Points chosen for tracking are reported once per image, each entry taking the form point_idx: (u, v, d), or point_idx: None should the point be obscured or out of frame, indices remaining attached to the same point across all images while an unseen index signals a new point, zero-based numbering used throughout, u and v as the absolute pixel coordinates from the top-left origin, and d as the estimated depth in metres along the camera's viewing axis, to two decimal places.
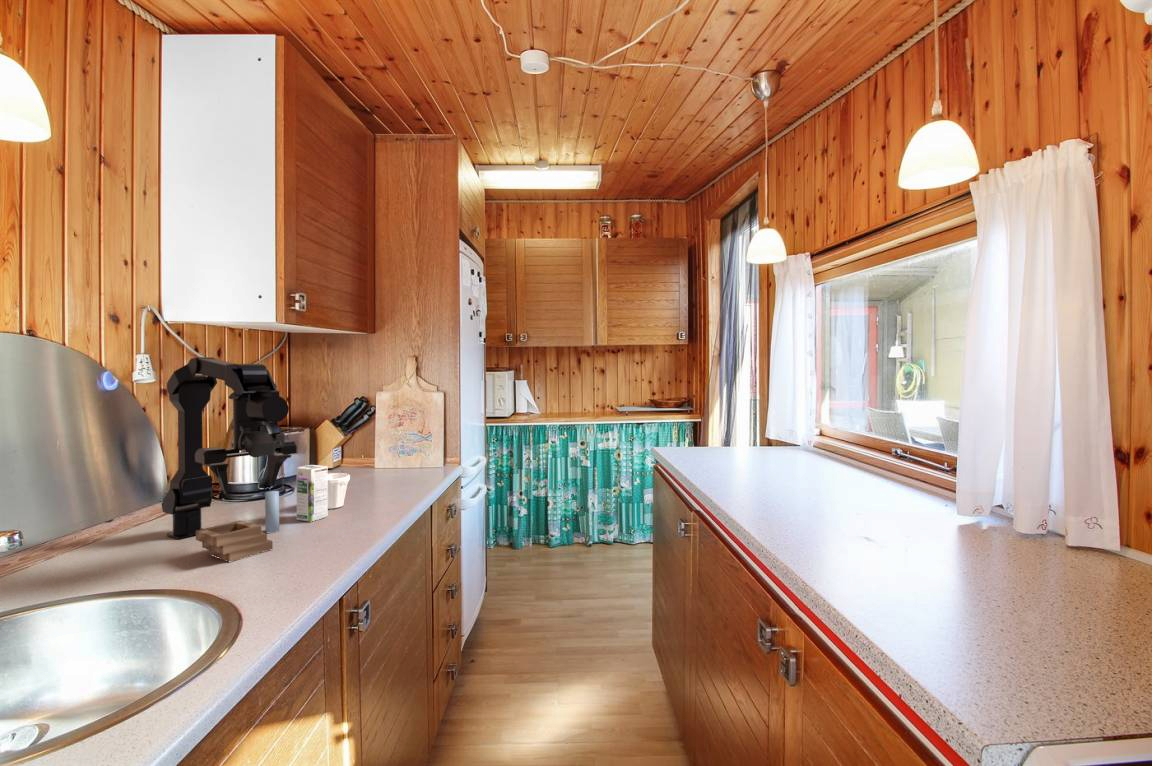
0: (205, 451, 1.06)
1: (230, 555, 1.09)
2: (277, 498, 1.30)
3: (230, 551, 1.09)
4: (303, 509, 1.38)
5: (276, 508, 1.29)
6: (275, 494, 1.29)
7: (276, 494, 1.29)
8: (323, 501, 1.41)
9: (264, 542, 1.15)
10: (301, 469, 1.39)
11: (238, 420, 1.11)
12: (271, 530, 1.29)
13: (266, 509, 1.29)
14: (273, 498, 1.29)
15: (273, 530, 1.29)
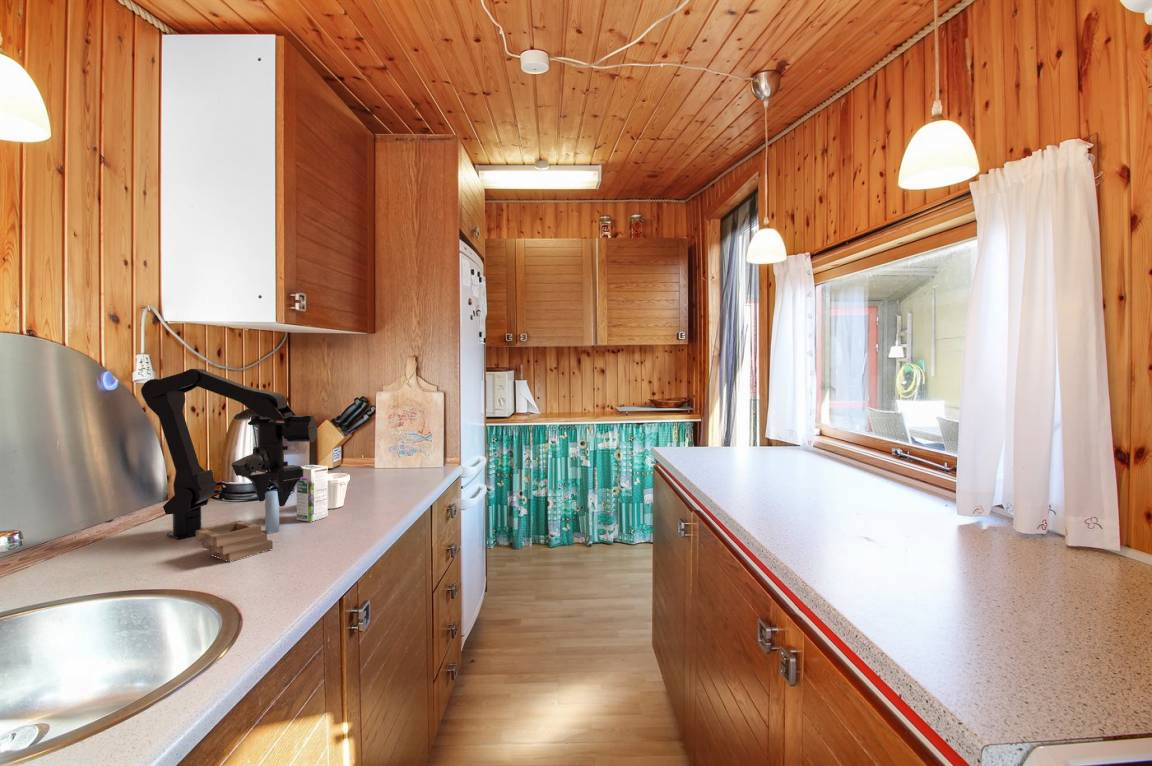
0: None
1: (230, 555, 1.09)
2: (277, 498, 1.30)
3: (230, 551, 1.09)
4: (303, 509, 1.38)
5: (276, 508, 1.29)
6: (275, 494, 1.29)
7: (276, 494, 1.29)
8: (323, 501, 1.41)
9: (264, 542, 1.15)
10: None
11: None
12: (271, 530, 1.29)
13: (266, 509, 1.29)
14: (273, 498, 1.29)
15: (273, 530, 1.29)
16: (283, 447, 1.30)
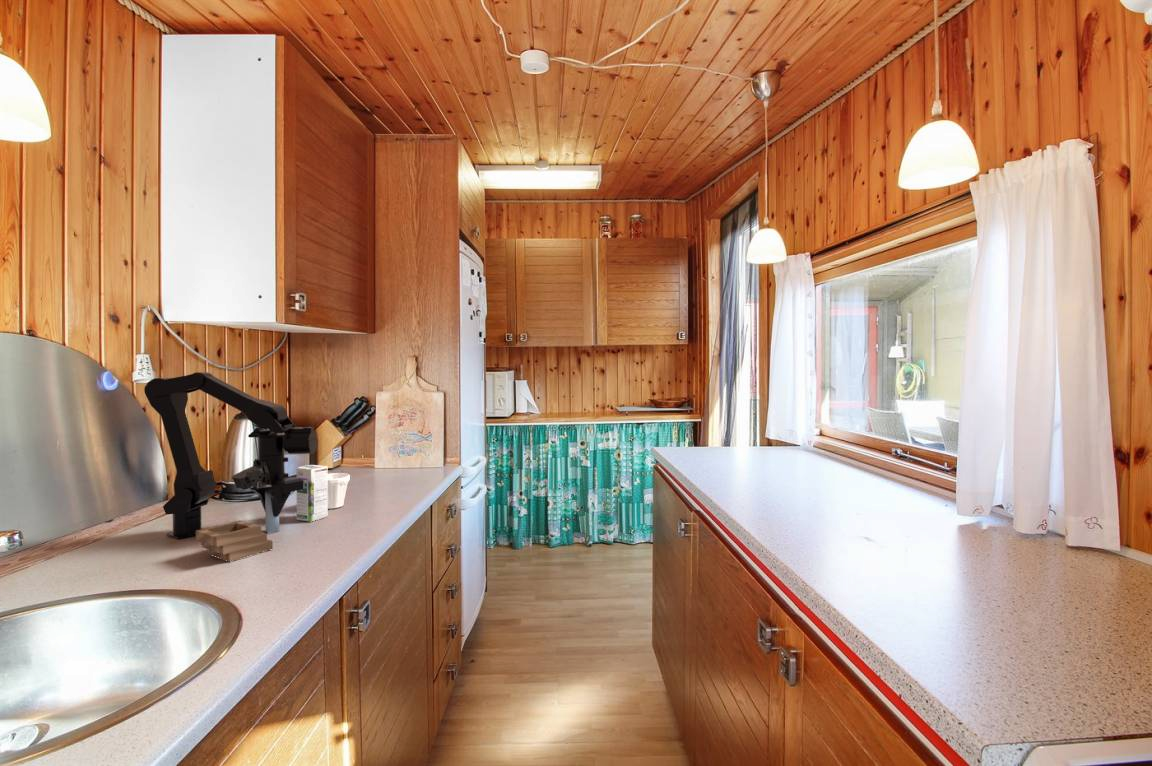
0: None
1: (230, 555, 1.09)
2: None
3: (230, 551, 1.09)
4: (303, 509, 1.38)
5: None
6: None
7: None
8: (323, 501, 1.41)
9: (264, 542, 1.15)
10: (301, 469, 1.39)
11: None
12: (271, 530, 1.29)
13: (266, 509, 1.29)
14: None
15: (273, 530, 1.29)
16: (283, 459, 1.30)
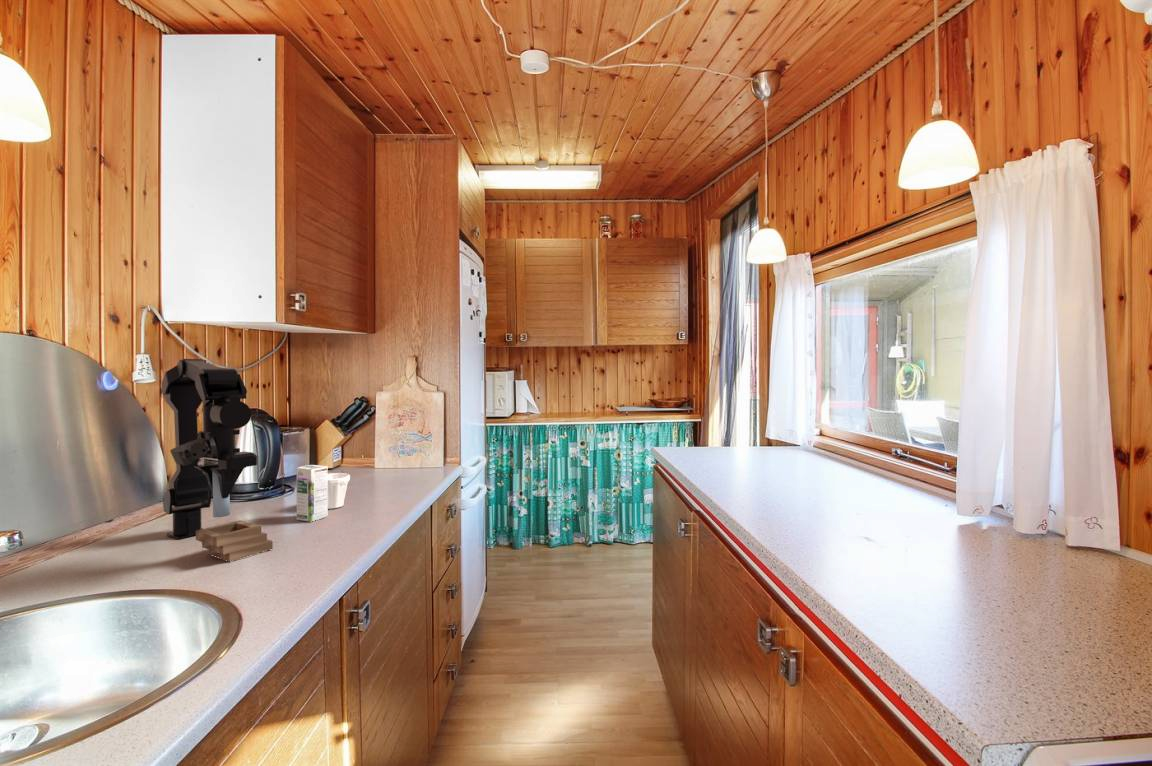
0: None
1: (230, 555, 1.09)
2: None
3: (230, 551, 1.09)
4: (303, 509, 1.38)
5: None
6: None
7: None
8: (323, 501, 1.41)
9: (264, 542, 1.15)
10: (301, 469, 1.39)
11: None
12: (219, 514, 1.10)
13: (213, 489, 1.10)
14: None
15: (222, 514, 1.11)
16: (234, 431, 1.12)
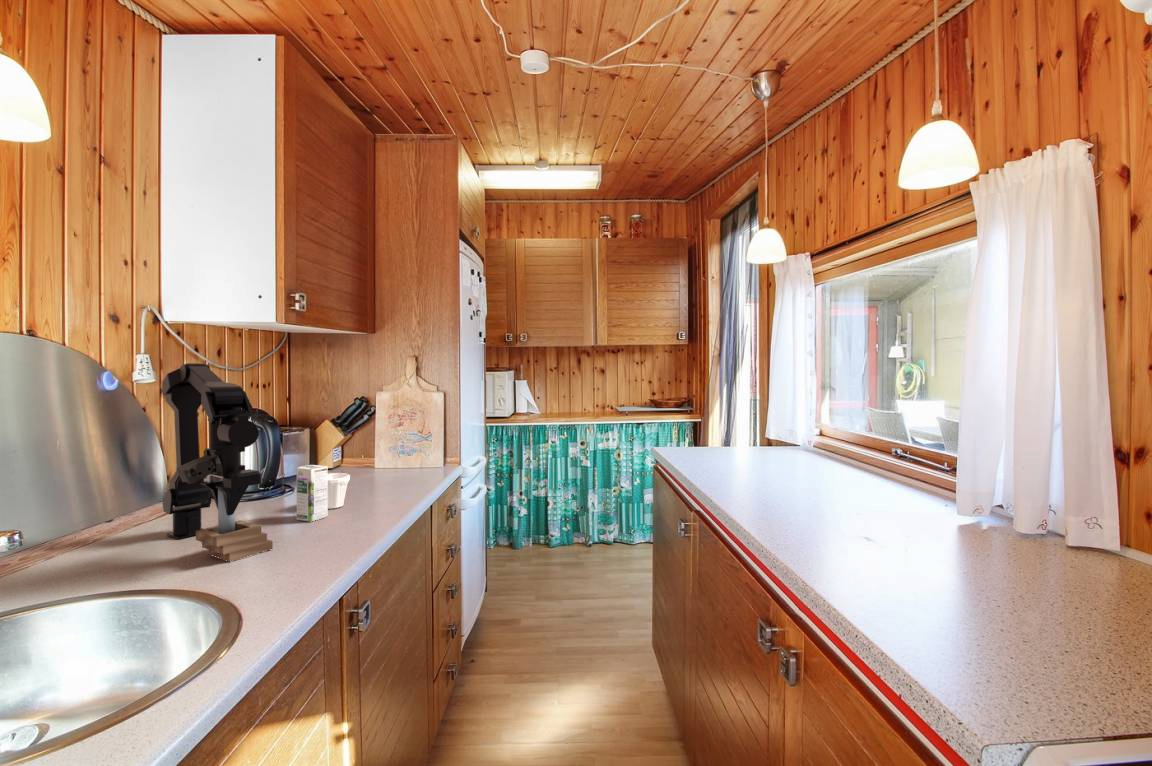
0: None
1: (230, 555, 1.09)
2: None
3: (230, 551, 1.09)
4: (303, 509, 1.38)
5: None
6: None
7: None
8: (323, 501, 1.41)
9: (264, 542, 1.15)
10: (301, 469, 1.39)
11: None
12: (225, 530, 1.11)
13: (219, 506, 1.11)
14: None
15: (227, 530, 1.11)
16: (239, 449, 1.12)
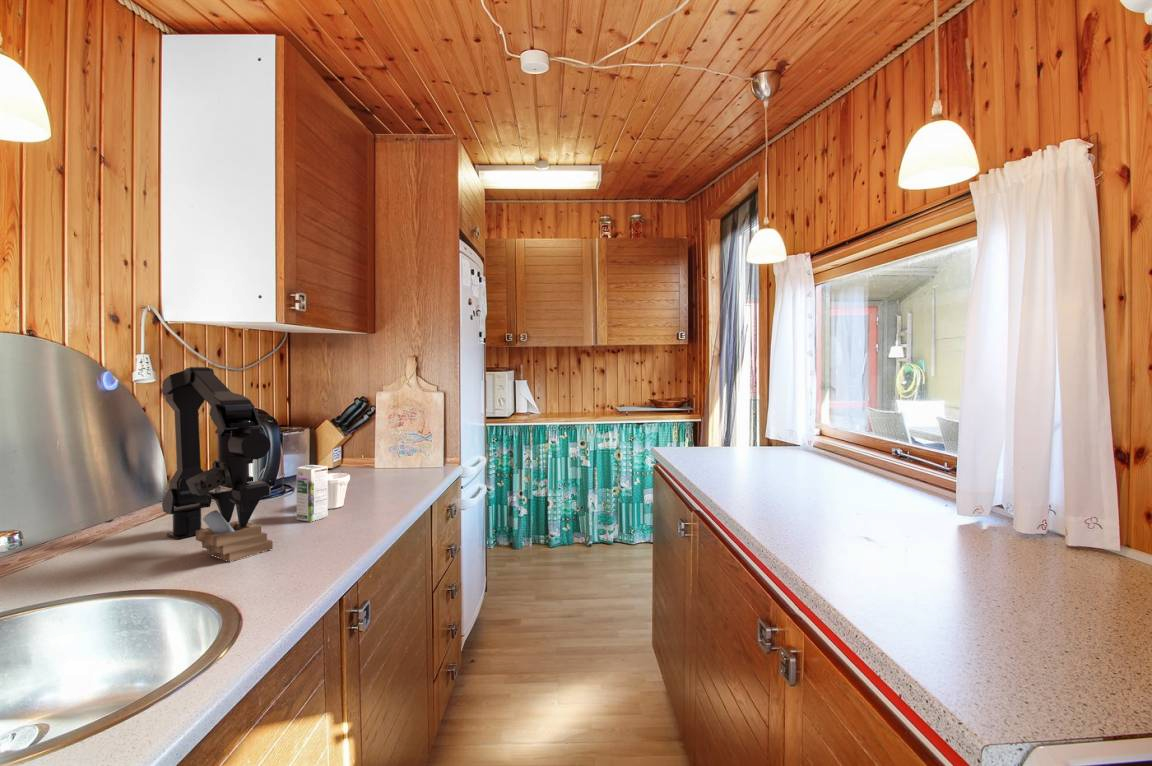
0: None
1: (230, 555, 1.09)
2: (220, 519, 1.10)
3: (230, 551, 1.09)
4: (303, 509, 1.38)
5: (225, 529, 1.11)
6: (215, 517, 1.09)
7: (216, 517, 1.09)
8: (323, 501, 1.41)
9: (264, 542, 1.15)
10: (301, 469, 1.39)
11: None
12: None
13: None
14: (215, 522, 1.09)
15: None
16: (248, 460, 1.14)
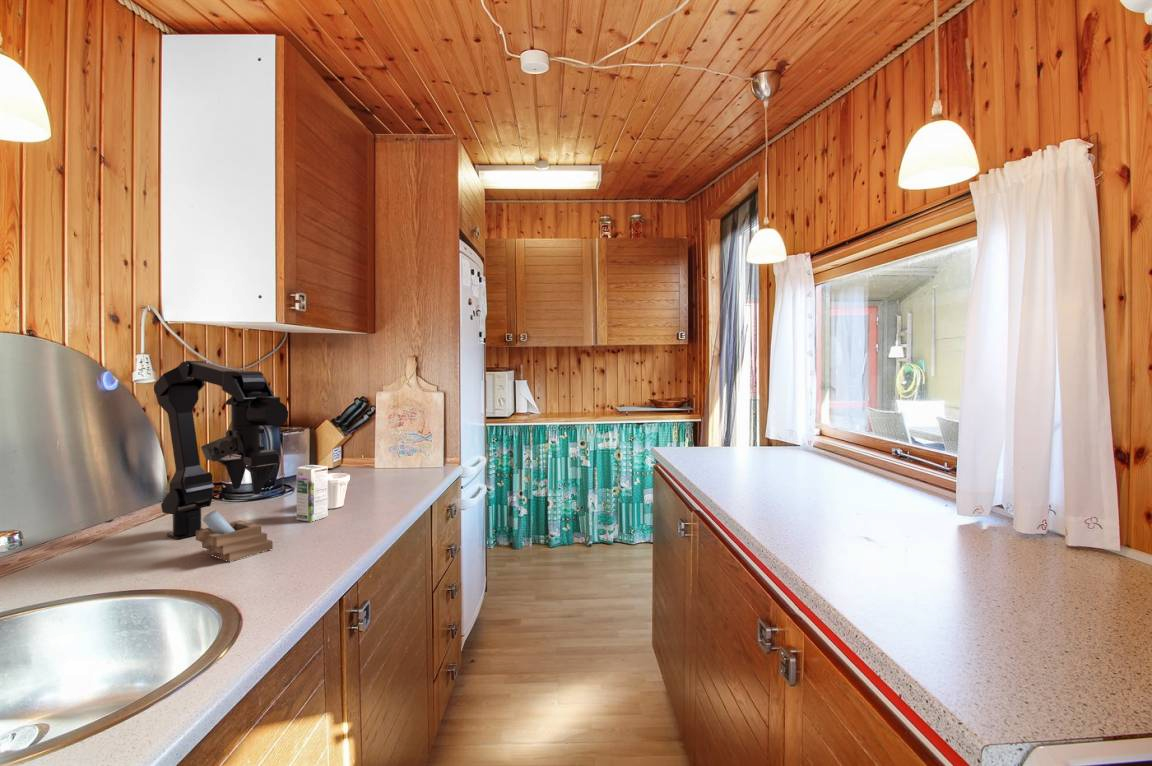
0: None
1: (230, 555, 1.09)
2: (220, 519, 1.10)
3: (230, 551, 1.09)
4: (303, 509, 1.38)
5: (226, 529, 1.11)
6: (215, 518, 1.09)
7: (216, 517, 1.09)
8: (323, 501, 1.41)
9: (264, 542, 1.15)
10: (301, 469, 1.39)
11: None
12: None
13: None
14: (215, 523, 1.09)
15: None
16: (259, 430, 1.19)
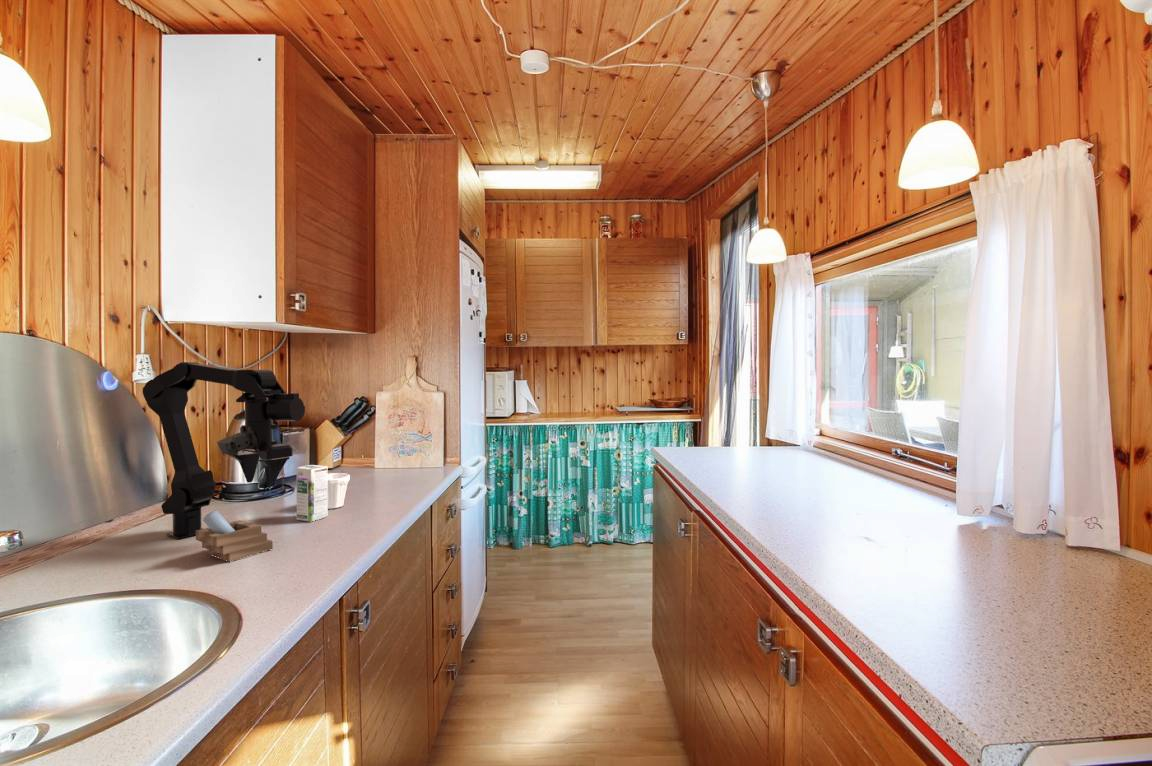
0: None
1: (230, 555, 1.09)
2: (220, 520, 1.10)
3: (230, 551, 1.09)
4: (303, 509, 1.38)
5: (226, 529, 1.11)
6: (215, 518, 1.09)
7: (216, 517, 1.09)
8: (323, 501, 1.41)
9: (264, 542, 1.15)
10: (301, 469, 1.39)
11: None
12: None
13: None
14: (215, 523, 1.09)
15: None
16: (271, 426, 1.25)
